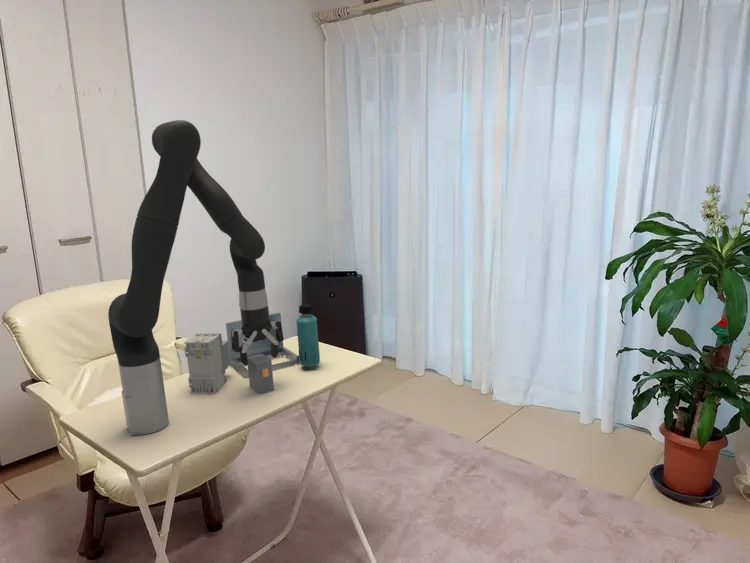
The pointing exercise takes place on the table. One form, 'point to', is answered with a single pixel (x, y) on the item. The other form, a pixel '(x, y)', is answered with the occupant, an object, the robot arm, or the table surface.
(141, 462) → the table surface
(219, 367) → the circuit breaker
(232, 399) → the table surface
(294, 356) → the grey frame with backplate
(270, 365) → the block
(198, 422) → the table surface
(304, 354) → the beverage bottle
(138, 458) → the table surface
